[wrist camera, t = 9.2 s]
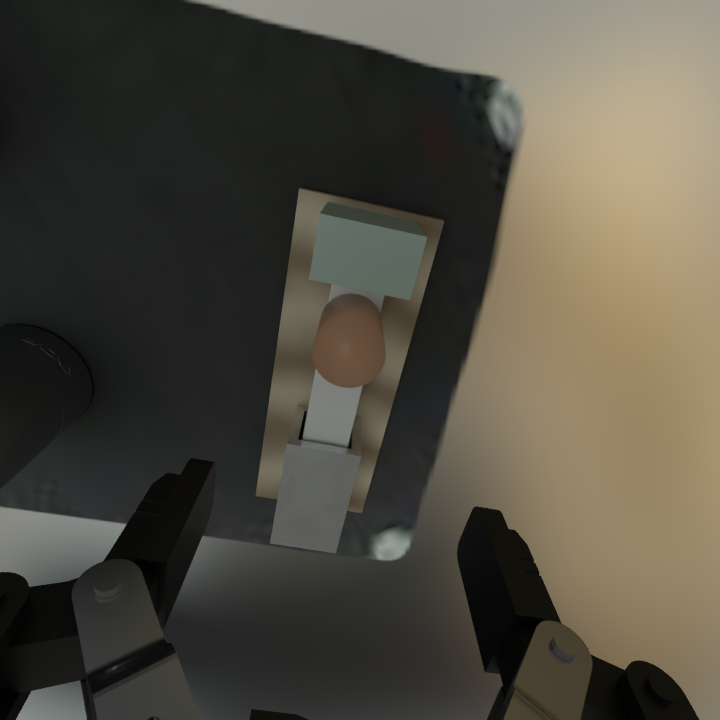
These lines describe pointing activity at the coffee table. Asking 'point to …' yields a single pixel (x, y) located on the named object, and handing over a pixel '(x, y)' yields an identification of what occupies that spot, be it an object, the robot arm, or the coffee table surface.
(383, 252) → the sage socket
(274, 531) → the aluminium sleeve
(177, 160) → the coffee table surface
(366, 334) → the tube
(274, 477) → the oak base
